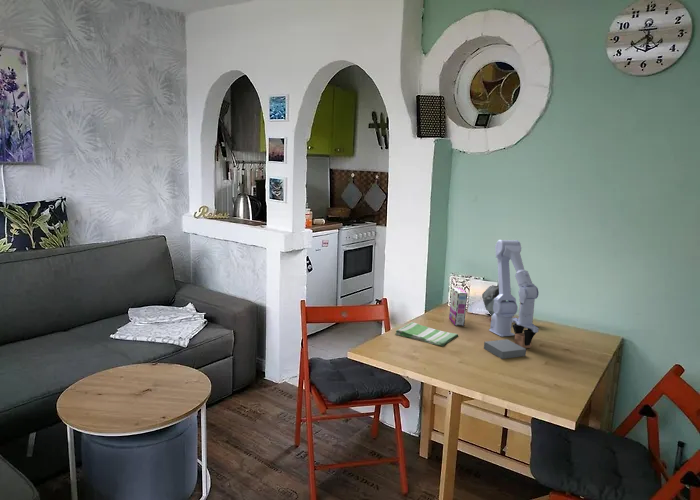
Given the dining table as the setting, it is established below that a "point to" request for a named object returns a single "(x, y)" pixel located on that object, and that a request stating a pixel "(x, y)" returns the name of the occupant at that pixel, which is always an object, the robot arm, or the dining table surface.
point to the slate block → (504, 348)
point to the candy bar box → (458, 306)
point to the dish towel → (425, 334)
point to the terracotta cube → (521, 340)
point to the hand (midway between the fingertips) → (522, 342)
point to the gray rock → (490, 298)
